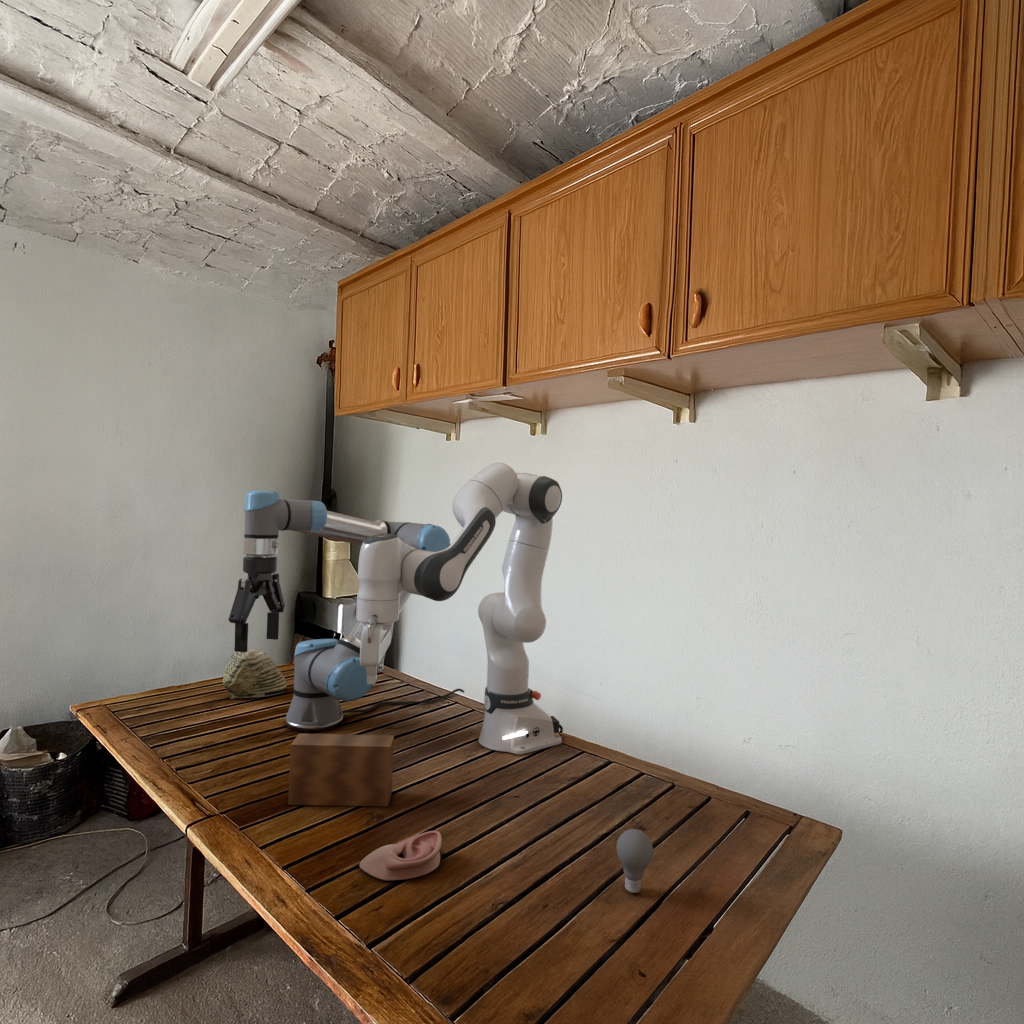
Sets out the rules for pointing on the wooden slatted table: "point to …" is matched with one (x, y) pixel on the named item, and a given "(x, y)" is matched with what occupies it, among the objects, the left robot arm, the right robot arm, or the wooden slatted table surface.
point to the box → (341, 770)
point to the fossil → (252, 675)
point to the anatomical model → (405, 858)
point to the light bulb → (634, 857)
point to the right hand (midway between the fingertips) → (375, 676)
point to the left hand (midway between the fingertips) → (257, 645)
